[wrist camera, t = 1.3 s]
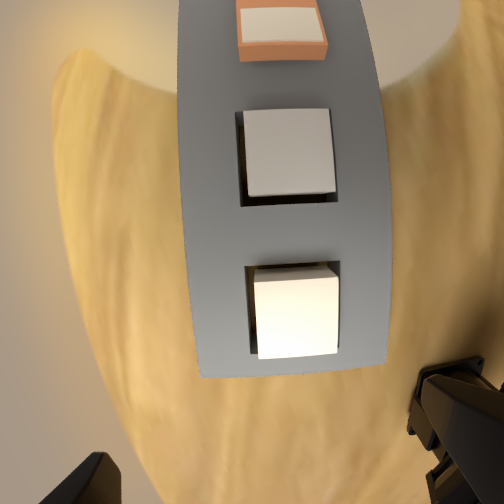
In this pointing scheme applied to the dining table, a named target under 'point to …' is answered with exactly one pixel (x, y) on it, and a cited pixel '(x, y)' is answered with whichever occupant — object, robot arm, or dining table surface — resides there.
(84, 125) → the dining table surface
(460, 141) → the dining table surface
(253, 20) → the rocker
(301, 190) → the grey button
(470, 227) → the dining table surface
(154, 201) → the dining table surface
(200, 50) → the panel
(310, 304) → the cream button
